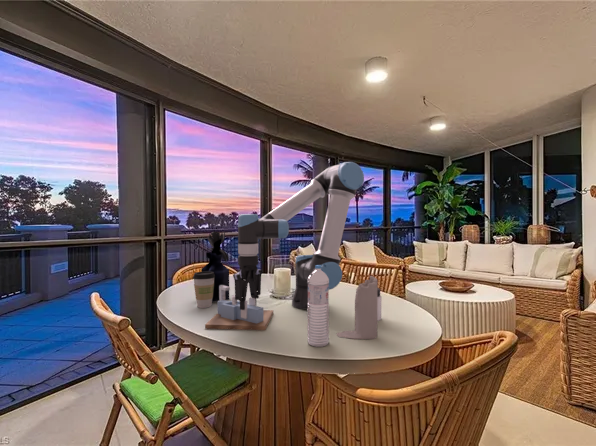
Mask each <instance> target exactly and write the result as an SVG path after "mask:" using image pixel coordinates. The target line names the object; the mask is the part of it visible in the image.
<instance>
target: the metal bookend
mask: <svg viewBox="0 0 596 446" xmlns="http://www.w3.org/2000/svg"><path fill="white" fill-rule="evenodd" d="M377 288H378V278H377V277H375V276H373V275H370V276H369V279H365V280H364V282H363V283H359V284H358V286H357V287H356V290H355V297H354V330H343V331H341V332H336V336H337V337H338V338H346V339H350V340H351V339H352V340H353V339H354V340H373V339H376V338H377V337H378V321H377V308H378V301H377Z"/></svg>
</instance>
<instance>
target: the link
mask: <svg viewBox="0 0 596 446" xmlns="http://www.w3.org/2000/svg"><path fill="white" fill-rule="evenodd" d="M216 302H217V313H218V314H220V315H221V317H224V318H228V319H232V320H235V319H240V320H244V321H248V322H253V323H260V322H262V321H263V310H264V307H262V306H257V305H256V306H253V305H249V303H247V319H245V318H241V309H240V301H239V300H237V305H235V306H232V300H230V301H229V300H221V301H216Z"/></svg>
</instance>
